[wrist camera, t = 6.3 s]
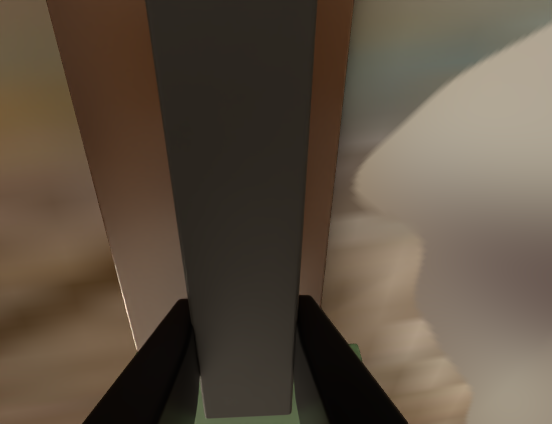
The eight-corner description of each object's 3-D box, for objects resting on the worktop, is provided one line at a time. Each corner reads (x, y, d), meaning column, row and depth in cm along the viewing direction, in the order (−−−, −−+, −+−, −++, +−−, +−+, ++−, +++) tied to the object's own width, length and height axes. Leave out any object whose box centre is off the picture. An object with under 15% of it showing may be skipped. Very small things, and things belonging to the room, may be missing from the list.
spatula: (334, 468, 15) (345, 534, 13) (169, 477, 15) (159, 545, 13) (447, -131, 6) (529, -164, 4) (3, -144, 5) (-108, -185, 4)
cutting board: (143, 331, 21) (137, 355, 20) (21, -189, 11) (-9, -206, 9) (312, 326, 22) (316, 349, 21) (361, -175, 11) (375, -191, 10)
